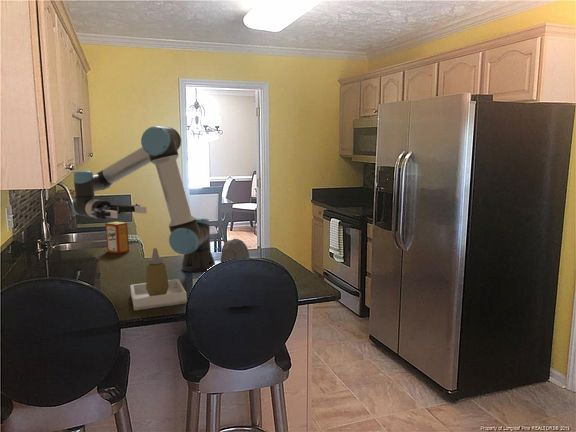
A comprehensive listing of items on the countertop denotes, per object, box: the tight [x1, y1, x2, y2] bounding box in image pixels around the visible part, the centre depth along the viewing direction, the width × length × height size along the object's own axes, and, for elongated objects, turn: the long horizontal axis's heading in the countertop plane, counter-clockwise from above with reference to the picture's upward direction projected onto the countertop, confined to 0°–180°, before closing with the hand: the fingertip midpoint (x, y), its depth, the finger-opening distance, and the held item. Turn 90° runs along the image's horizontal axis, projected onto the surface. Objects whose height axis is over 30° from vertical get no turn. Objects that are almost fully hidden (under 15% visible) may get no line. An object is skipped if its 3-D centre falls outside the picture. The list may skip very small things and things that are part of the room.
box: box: [129, 278, 188, 311], centre depth 169 cm, size 18×18×4 cm
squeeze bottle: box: [145, 247, 169, 296], centre depth 168 cm, size 8×8×18 cm
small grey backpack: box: [220, 238, 250, 263], centre depth 178 cm, size 15×8×20 cm, turn 157°
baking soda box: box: [104, 221, 130, 255], centre depth 246 cm, size 10×6×16 cm
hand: (131, 212), depth 181 cm, fingers open, 13 cm apart
